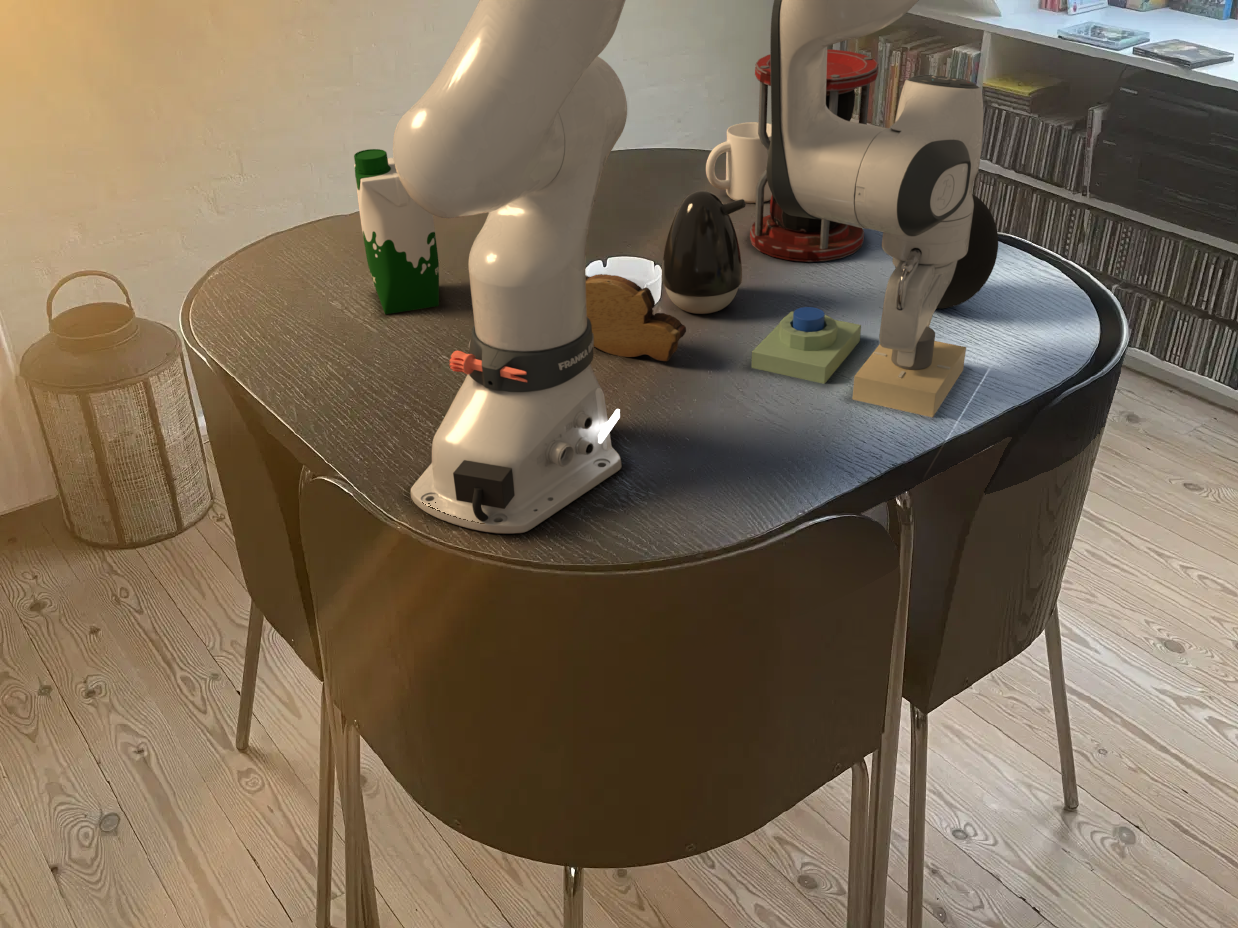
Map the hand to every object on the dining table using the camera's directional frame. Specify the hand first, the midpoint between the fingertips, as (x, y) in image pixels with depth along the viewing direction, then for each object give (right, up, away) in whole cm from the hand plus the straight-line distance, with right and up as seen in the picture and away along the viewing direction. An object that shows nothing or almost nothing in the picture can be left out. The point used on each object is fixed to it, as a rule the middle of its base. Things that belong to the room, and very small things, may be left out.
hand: (912, 352), depth 130 cm
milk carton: (-60, +9, +26) cm, 66 cm away
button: (-10, +4, +7) cm, 13 cm away
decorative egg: (+8, +8, +20) cm, 23 cm away
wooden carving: (-32, +1, +11) cm, 34 cm away
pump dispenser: (-22, +8, +22) cm, 32 cm away
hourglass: (-6, +19, +39) cm, 44 cm away
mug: (-13, +30, +55) cm, 64 cm away
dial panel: (0, -3, +2) cm, 4 cm away
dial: (0, -1, +1) cm, 1 cm away
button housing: (-10, +1, +9) cm, 14 cm away
